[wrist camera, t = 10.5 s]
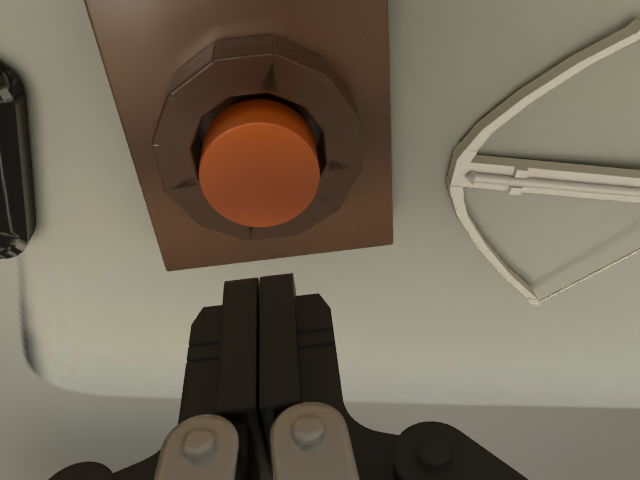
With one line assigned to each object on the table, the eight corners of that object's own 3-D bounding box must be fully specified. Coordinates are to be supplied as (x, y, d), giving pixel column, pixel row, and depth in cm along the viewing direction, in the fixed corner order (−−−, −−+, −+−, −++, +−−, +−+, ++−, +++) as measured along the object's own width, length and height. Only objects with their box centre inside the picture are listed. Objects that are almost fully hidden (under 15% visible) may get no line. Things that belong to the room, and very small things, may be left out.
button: (192, 105, 18) (186, 130, 17) (310, 91, 19) (314, 115, 17) (214, 204, 21) (211, 234, 19) (320, 192, 21) (325, 220, 19)
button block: (92, -42, 19) (58, -9, 16) (375, -74, 19) (399, -48, 16) (172, 239, 26) (160, 303, 22) (384, 214, 26) (402, 274, 23)
